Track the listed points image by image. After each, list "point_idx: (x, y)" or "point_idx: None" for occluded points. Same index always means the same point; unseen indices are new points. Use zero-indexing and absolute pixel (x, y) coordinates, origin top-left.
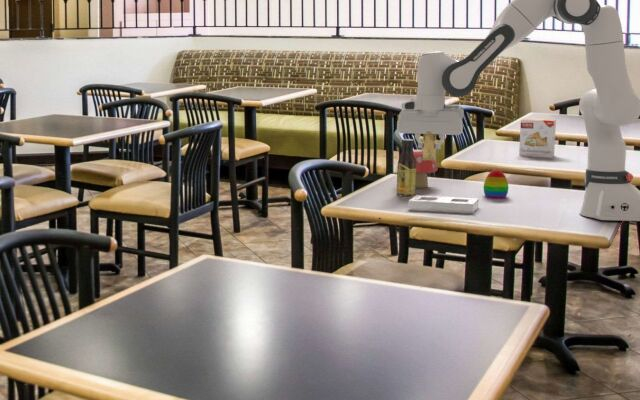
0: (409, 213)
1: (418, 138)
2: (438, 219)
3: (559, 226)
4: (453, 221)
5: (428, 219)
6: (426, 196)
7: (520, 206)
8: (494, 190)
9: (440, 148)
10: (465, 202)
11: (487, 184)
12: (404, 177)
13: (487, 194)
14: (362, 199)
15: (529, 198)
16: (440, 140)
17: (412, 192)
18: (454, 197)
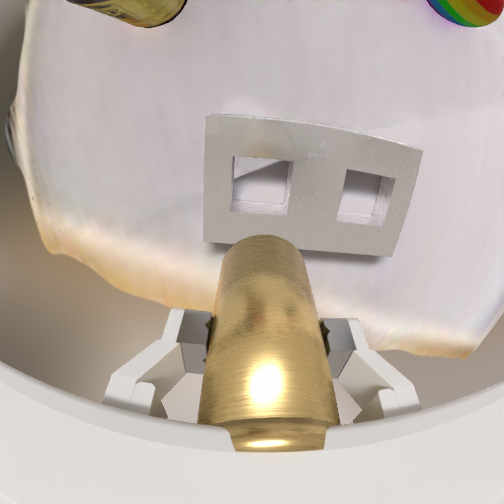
0: None
1: (156, 389)
2: None
3: (470, 314)
4: None
5: None
6: (248, 136)
7: (490, 118)
8: (460, 22)
9: (354, 321)
10: (377, 234)
11: (452, 1)
12: (123, 14)
13: (434, 5)
14: (52, 92)
15: None
16: (360, 399)
17: (177, 8)
18: (352, 139)
